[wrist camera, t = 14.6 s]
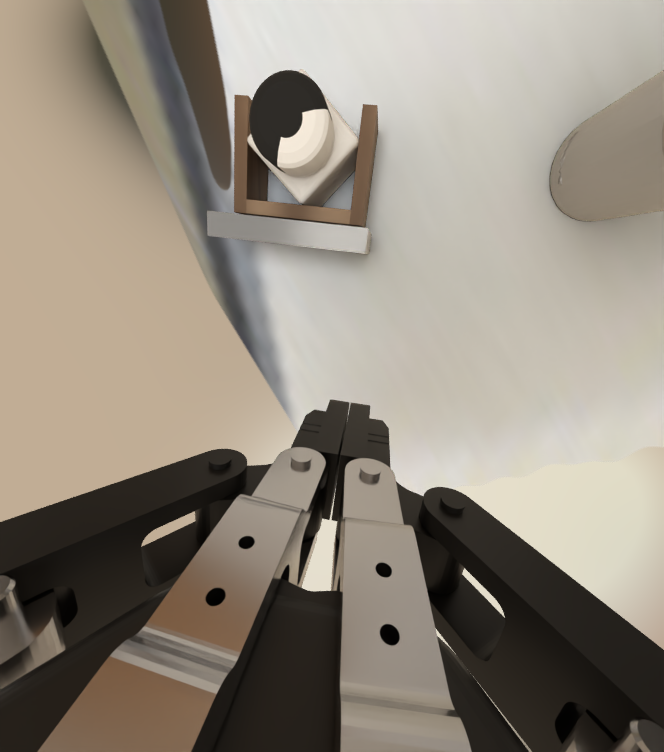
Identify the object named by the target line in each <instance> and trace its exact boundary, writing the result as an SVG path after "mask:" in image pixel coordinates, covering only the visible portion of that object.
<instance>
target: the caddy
mask: <svg viewBox="0 0 664 752" xmlns="http://www.w3.org/2000/svg"><path fill="white" fill-rule="evenodd" d="M251 103H252V100H251V99H250V98H249V96H244V95H235V152H234V212H236V213H240V214H243V215H252V216H261V217H270V218H279V219H289V220H298V221H307V222H316V223H326V224H335V225H344V226H353V227H363V228H365V226H366V218H367V210H368V203H369V195H370V188H371V180H372V172H373V165H374V157H375V149H376V142H377V134H378V111H377V105H365V104H363V109H362V118H361V126H360V135H359V144H358V153H357V161H356V170H355V179H354V187H353V196H352V205H351V210H345V209H335V208H326V207H316V206H306V205H297V204H287V203H278V202H268V201H267V184H268V166H267V165H266V164H265V162H264V161H263V160H262V159H261V158H260V157H259V155H258V154H257V153H256V152H255V151H254V150H253V148H252V147H251V146H250V145H249V143H248V141H247V138H248V136H249V135H250V134H251V131H250V124H249V114H250V107H251Z"/></svg>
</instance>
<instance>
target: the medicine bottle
mask: <svg viewBox="0 0 664 752" xmlns="http://www.w3.org/2000/svg"><path fill="white" fill-rule="evenodd" d="M249 124H250V131H251V134H250V135H249V136H248V138H247V141H248V143H249V145H250V146H251V147H252V148H253V150H254V151H255V152H256V153H257V154H258V155H259V157H260V158H261V159H262V160H263V161H264V162H265V164H266V165H267V166H268V167H269V168H270V169H271V171H272V172H273V173H274V174H275V175H276V176H277V178H278V179H279V180H280V181H281V182H282V183H283V185H284V186H285V187H286V188H287V189H288V190H289V192H290V193H291V194H292V195H293V196H294V197H295V199H296V200H297V201H298V202H299V203H300V204H302V205H306V206H316V207H321V206H322V205H323V204H324V203H325V202H326V201H327V200H328V198H329V197H330V196H331V195H332V194H333V193H334V192H335V191H336V190H337V189H338V188H339V187H340V186H341V184H342V183H343V182H344V181H345V180H346V179H347V178H348V177H349V176H350V175H351V174H352V173H353V172H354V170H355V169H356V161H357V153H358V144H359V141H358V138H357V136H356V135H355V134H354V132H353V131H352V130H351V128H350V127H349V126H348V125H347V123H346V122H345V121H344V120H343V118H342V117H341V116H340V115H339V113H338V112H337V111H336V109H335V108H334V107H333V106H332V104H331V103H330V102H329V101H328V99H327V98H326V97H325V96H324V94H323V93H322V91H321V90H320V88H319V87H318V85H317V84H316V83H315V82H314V81H313V80H312V79H311V78H310V77H309V75H308V74H307V73H306V71H304V70H303V69H301V70H299V71H292V70H285V71H280V72H277V73H275V74H273V75H271V76H270V77H268V78H267V79H266V80H265V81H264V82H263V83H262V84H261V85H260V86H259V88H258V89H257V91H256V93H255V95H254V97H253V100H252V103H251V107H250V114H249Z"/></svg>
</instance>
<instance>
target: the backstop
mask: <svg viewBox="0 0 664 752" xmlns="http://www.w3.org/2000/svg"><path fill="white" fill-rule="evenodd" d="M207 227H208V236H215V237H224V238H232V239H241V240H250V241H258V242H267V243H276V244H284V245H293V246H302V247H310V248H319V249H328V250H336V251H345V252H354V253H362V254H369V251H370V243H371V236H372V235H371V232H370V230H369V228H363V227H353V226H344V225H335V224H326V223H316V222H307V221H298V220H289V219H279V218H270V217H261V216H252V215H242V214H233V213H224V212H215V211H207Z"/></svg>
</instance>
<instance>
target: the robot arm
mask: <svg viewBox="0 0 664 752" xmlns="http://www.w3.org/2000/svg"><path fill="white" fill-rule="evenodd" d="M550 188H551V192H552V197H553V199H554V201H555V203H556V205H557V206H558V207H559V208H560V209H561V210H562V212H563V213H565V214H567V215H568V216H570V217H571V218H574V219H577V220H580V221H598V220H605V219H612V218H618V217H625V216H632V215H638V214H644V213H651V212H657V211H664V70H663V71H661V72H660V73H658V74H657V75H655V76H654V77H652V78H651V79H649V80H648V81H646V82H645V83H643V84H642V85H640V86H638V87H637V88H635V89H634V90H632V91H631V92H629V93H628V94H626V95H625V96H623V97H622V98H620V99H619V100H617V101H615V102H614V103H612V104H611V105H609V106H608V107H606V108H605V109H603V110H602V111H600V112H599V113H597V114H596V115H594V116H592V117H591V118H589V119H588V120H586V121H585V122H583V123H582V124H581V125H580V126H578V127H577V128H576V129H575V130H574V131H572V133H571V134H570V135H569V136H568V137H567V138H566V140H565V141H564V142H563V144H562V145H561V147H560V149H559V150H558V152H557V154H556V157H555V159H554V162H553V164H552V169H551V174H550ZM348 410H349V402H343V401H337V400H331V399H330V402H329V405H328V408H327V410H326V412H325V411H319V410H313V411H312V412H310V413H309V414H307V415H306V416H305V419H304V421H303V424H302V425H301V427H300V430H299V431H298V434H297V436H296V438H295V440H294V442H293V444H292V447H291V448H290V449H287V450H284V451H283V452H281V453H280V454H279V455H278V456H277V458H276V460H275V461H274V463H273V464H268V465H256V466H247V459H246V457H245V456H244V455H243V454H242V453H240V452H238V451H235V450H231V449H217V450H211V451H208V452H205V453H202V454H199V455H197V456H193V457H191V458H188V459H185V460H182V461H179V462H176V463H173V464H170V465H167V466H164V467H161V468H158V469H156V470H152V471H150V472H146V473H143V474H141V475H138V476H135V477H132V478H129V479H126V480H123V481H120V482H117V483H114V484H111V485H108V486H105V487H102V488H100V489H96V490H94V491H91V492H88V493H85V494H82V495H79V496H76V497H73V498H70V499H67V500H64V501H61V502H58V503H55V504H53V505H49V506H46V507H44V508H41V509H38V510H35V511H32V512H29V513H26V514H23V515H20V516H17V517H15V518H11V519H8V520H5V521H3V522H0V752H529V751H528V750H527V748H526V747H525V746H524V745H523V743H522V742H521V740H520V739H519V738H518V736H517V735H516V734H515V732H514V731H513V730H512V728H511V727H510V726H509V724H508V723H507V722H506V720H505V719H504V717H503V716H502V715H501V713H500V712H499V711H498V709H497V708H496V707H495V705H496V706H497V707H498V708H499V710H500V711H501V712H502V714H503V715H504V716H505V717H506V719H507V720H508V721H509V723H510V724H511V725H512V726H513V727H514V729H515V730H516V731H517V733H518V734H519V735H520V737H521V738H522V739H523V740H524V742H525V743H526V744H527V745H528V747H529V748H530V749H531V751H532V752H664V650H663V649H662V648H661V647H659V646H658V645H657V644H655V643H654V642H653V641H652V640H650V639H649V638H648V637H647V636H645V635H644V634H643V633H641V632H640V631H639V630H638V629H636V628H635V627H634V626H633V625H631V624H630V623H629V622H627V621H626V620H625V619H623V618H622V617H621V616H620V615H618V614H617V613H616V612H615V611H613V610H612V609H611V608H609V607H608V606H607V605H606V604H604V603H603V602H602V601H600V600H599V599H598V598H597V597H595V596H594V595H593V594H592V593H590V592H589V591H588V590H586V589H585V588H584V587H583V586H581V585H580V584H579V583H577V582H576V581H575V580H574V579H572V578H571V577H570V576H569V575H567V574H566V573H565V572H563V571H562V570H561V569H560V568H558V567H557V566H556V565H555V564H553V563H552V562H551V561H549V560H548V559H547V558H546V557H544V556H543V555H542V554H540V553H539V552H538V551H537V550H535V549H534V548H533V547H532V546H530V545H529V544H528V543H526V542H525V541H524V540H523V539H521V538H520V537H519V536H517V535H516V534H515V533H513V532H512V531H511V530H510V529H508V528H507V527H506V526H505V525H503V524H502V523H501V522H500V521H498V520H497V519H496V518H494V517H493V516H492V515H491V514H489V513H488V512H487V511H485V510H484V509H483V508H482V507H480V506H479V505H478V504H476V503H475V502H474V501H473V500H471V499H470V498H469V497H467V496H466V495H464V494H462V493H461V492H458V491H456V490H453V489H450V488H445V487H435V488H431V489H429V490H428V491H426V492H425V494H424V496H421V495H419V494H416V493H414V492H411V491H409V490H407V489H405V488H404V487H402V486H401V485H400V484H398V483H397V482H396V479H395V475H394V472H393V471H392V470H391V468H390V449H389V428H388V427H387V426H386V424H385V423H384V422H383V421H382V420H376V419H369V415H370V406H369V405H363V404H357V403H351V405H350V410H349V415H348ZM347 417H348V420H347ZM336 483H337V484H336ZM335 488H336V492H335ZM334 493H335V499H334ZM333 499H334V507H333V515H332V520H334V521H337V528H336V536H335V542H334V554H333V569H332V584H331V591H317V592H313V591H307V590H305V589H303V588H301V587H302V583H303V580H304V577H305V574H306V571H307V568H308V565H309V562H310V559H311V556H312V553H313V549H314V546H315V543H316V540H317V532H318V531H319V529H320V526H321V521H322V518H323V519H328V520H329V519H330V514H331V508H332V503H333ZM193 511H195V519H196V521H195V522H193V523H191V524H189V525H187V526H185V527H183V528H181V529H178V530H176V531H174V532H172V533H170V534H168V535H166V536H164V537H162V538H159V539H157V540H155V541H153V542H151V543H149V544H147V545H145V546H142V547H141V545H142V542H143V540H144V538H145V537H146V536H147V535H148V534H149V533H150V532H151V531H153V530H154V529H156V528H158V527H161V526H163V525H165V524H167V523H169V522H172V521H174V520H176V519H178V518H180V517H183V516H185V515H187V514H189V513H192V512H193ZM464 568H465V569H466V570H467V571H468V572H469V573H470V574H471V575H472V576H473V577H474V578H475V579H476V580H477V581H478V582H479V583H480V584H481V585H482V586H483V587H484V588H485V589H486V590H487V591H488V592H489V593H490V594H491V595H492V596H493V597H494V598H495V599H496V600H497V601H498V603H499V604H500V606H501V608H502V610H503V612H504V615H505V618H504V617H503V616H502V615H501V614H500V613H499V612H498V611H497V610H496V609H495V608H494V607H493V606H492V605H491V603H490V602H489V601H488V600H487V599H486V598H485V597H484V596H483V595H482V594H481V593H480V592H479V591H478V590H477V589H476V588H475V587H474V586H473V585H472V584H471V583H470V582H469V581H468V580H467V579H466V578H465V577H464V576H463V575H462V572H463V570H464ZM435 628H436V629H437V630H438V632H439V633H440V634H441V636H442V637H443V638H444V639H445V641H446V642H447V643H448V644H449V646H450V647H451V648H452V650H453V651H454V652H455V653H456V654H455V653H454V652H453V651H452V650H451V649H450V648H449V647H448V646H447V645H446V644H445V643H444V642H443V641H442V640H441V639H440V638H439V637H438V636H437V634H436V629H435ZM458 657H459V658H458ZM466 667H467V668H466ZM469 671H470V672H469ZM472 675H473V676H474V677H473V676H472ZM475 679H476V680H477V681H476V680H475ZM477 682H478V683H479V684H480V685H481V687H482V688H483V689H484V690H483V689H482V688H481V687H480V685H479V684H478V683H477ZM484 691H485V692H486V693H487V694H488V696H489V697H490V698H491V699H492V701H493V702H494V703H495V705H494V704H493V703H492V701H491V700H490V699H489V697H488V696H487V695H486V693H485V692H484Z"/></svg>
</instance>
